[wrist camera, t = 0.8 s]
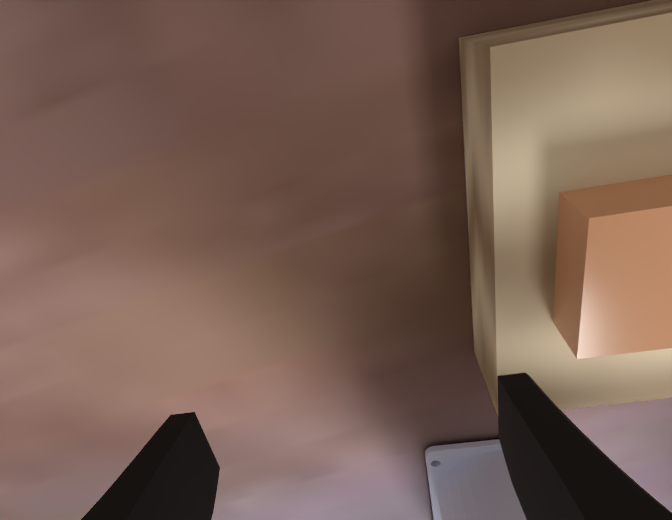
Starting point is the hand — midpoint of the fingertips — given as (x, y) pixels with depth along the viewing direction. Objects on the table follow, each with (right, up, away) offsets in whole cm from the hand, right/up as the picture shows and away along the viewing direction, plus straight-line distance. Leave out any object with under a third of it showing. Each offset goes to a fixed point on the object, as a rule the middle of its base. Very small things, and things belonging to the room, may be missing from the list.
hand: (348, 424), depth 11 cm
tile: (+9, +4, +4) cm, 11 cm away
